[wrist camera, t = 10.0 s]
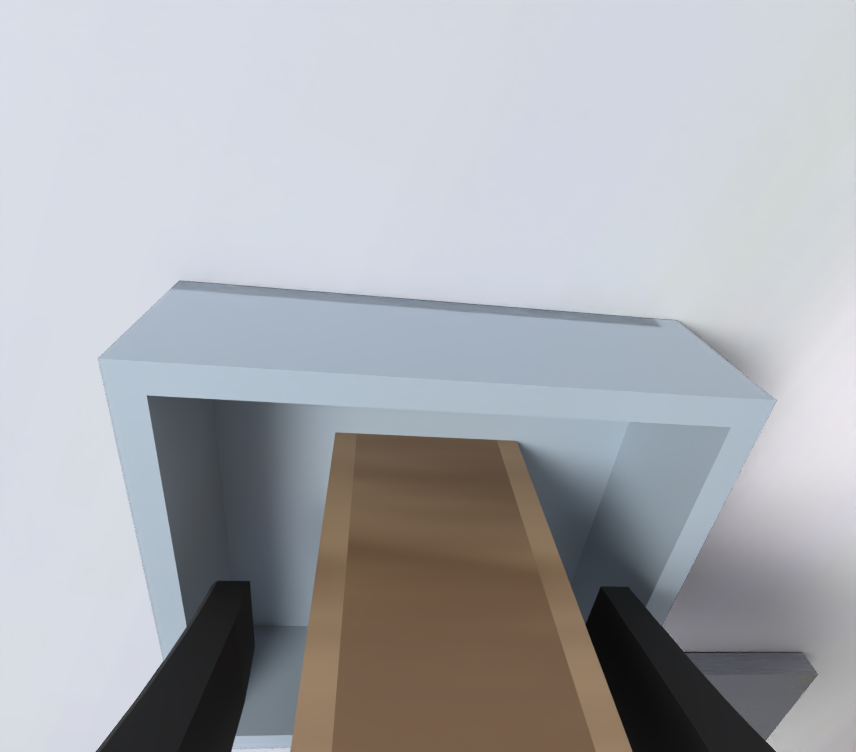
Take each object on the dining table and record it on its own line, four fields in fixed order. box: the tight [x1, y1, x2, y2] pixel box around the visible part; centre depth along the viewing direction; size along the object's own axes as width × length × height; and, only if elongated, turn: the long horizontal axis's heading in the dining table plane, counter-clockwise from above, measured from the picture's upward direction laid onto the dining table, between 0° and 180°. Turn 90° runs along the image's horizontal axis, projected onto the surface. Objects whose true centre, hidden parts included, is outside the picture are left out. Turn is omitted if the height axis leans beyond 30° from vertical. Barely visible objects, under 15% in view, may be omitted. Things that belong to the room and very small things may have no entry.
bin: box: [98, 281, 777, 749], centre depth 12 cm, size 11×11×4 cm
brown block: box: [290, 432, 632, 752], centre depth 10 cm, size 4×4×8 cm
